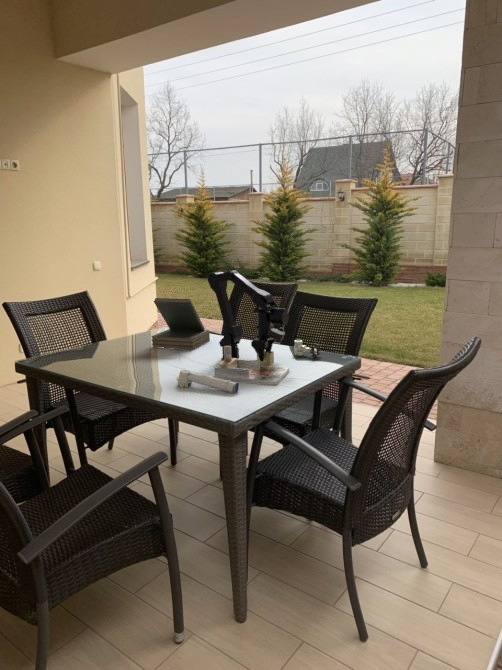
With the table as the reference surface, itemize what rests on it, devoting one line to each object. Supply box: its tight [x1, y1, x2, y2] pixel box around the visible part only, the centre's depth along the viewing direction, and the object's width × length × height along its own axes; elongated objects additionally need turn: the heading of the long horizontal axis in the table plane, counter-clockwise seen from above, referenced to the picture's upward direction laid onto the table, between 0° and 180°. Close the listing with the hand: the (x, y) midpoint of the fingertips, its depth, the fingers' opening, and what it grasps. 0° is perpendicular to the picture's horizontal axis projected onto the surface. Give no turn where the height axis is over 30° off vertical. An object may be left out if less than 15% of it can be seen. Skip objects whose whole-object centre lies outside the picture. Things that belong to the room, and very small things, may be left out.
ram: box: [218, 346, 238, 368], centre depth 196 cm, size 4×10×10 cm, turn 160°
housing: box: [256, 350, 275, 367], centre depth 210 cm, size 6×5×5 cm
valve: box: [293, 339, 321, 359], centre depth 220 cm, size 7×7×12 cm
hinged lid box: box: [151, 297, 211, 351], centre depth 247 cm, size 23×20×25 cm
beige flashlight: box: [176, 369, 240, 394], centre depth 180 cm, size 5×7×25 cm
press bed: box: [212, 358, 290, 386], centre depth 194 cm, size 26×18×4 cm
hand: (265, 358), depth 210 cm, fingers open, 9 cm apart
